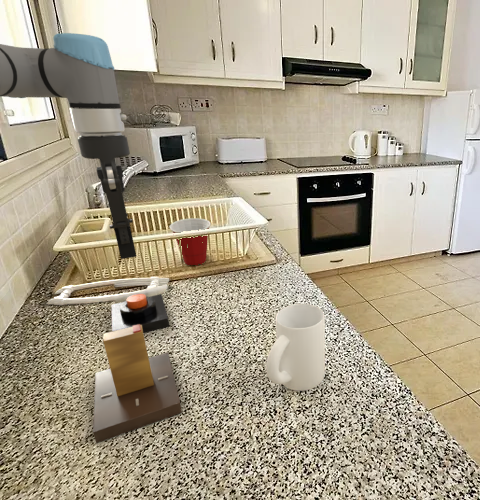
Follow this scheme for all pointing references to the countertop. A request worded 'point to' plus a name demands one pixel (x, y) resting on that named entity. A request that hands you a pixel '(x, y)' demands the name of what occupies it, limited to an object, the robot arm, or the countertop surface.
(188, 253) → the plastic cup
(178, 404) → the plate
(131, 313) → the black base
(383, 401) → the countertop surface
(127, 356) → the lock turn
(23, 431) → the countertop surface
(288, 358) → the mug
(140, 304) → the bell button
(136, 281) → the door handle
